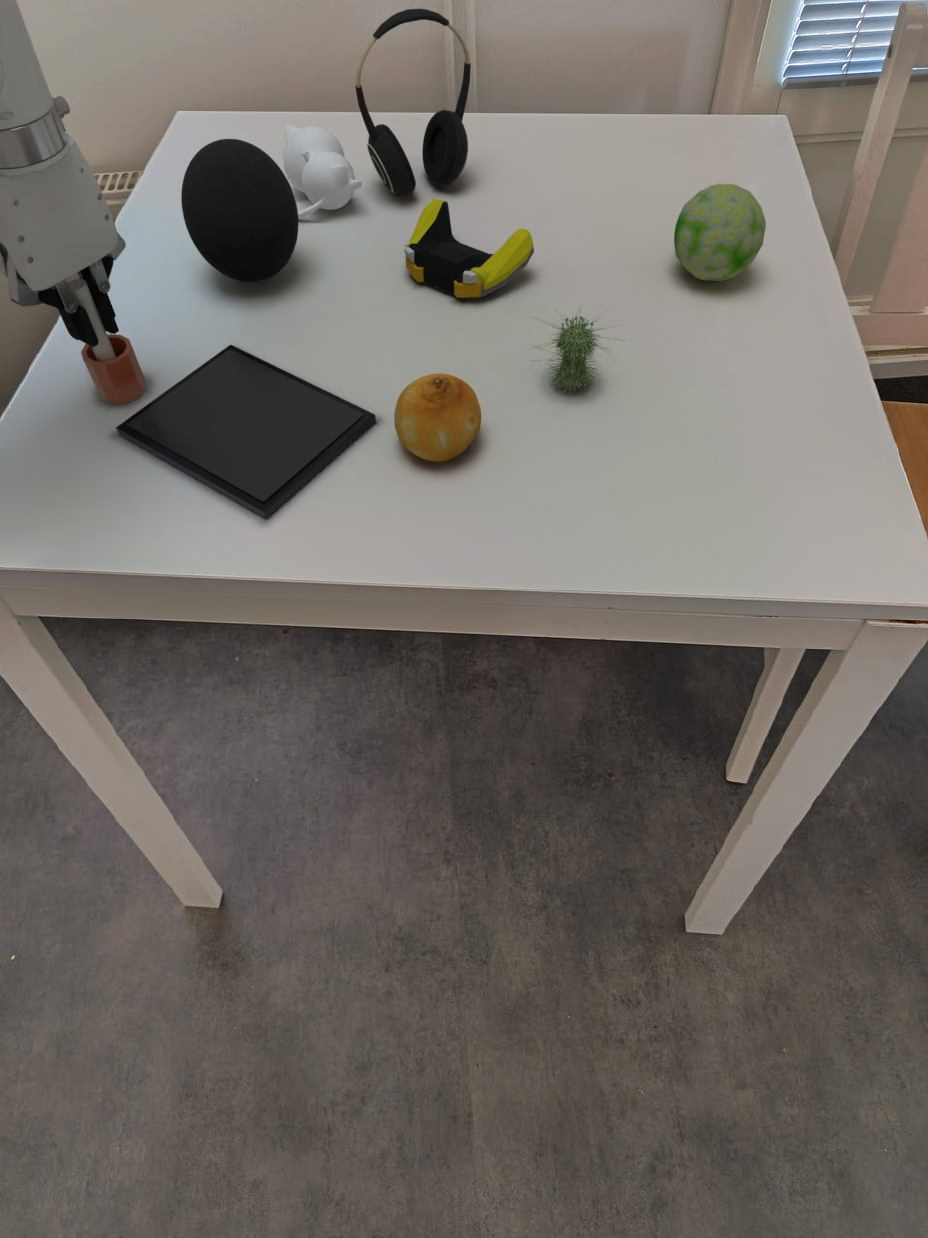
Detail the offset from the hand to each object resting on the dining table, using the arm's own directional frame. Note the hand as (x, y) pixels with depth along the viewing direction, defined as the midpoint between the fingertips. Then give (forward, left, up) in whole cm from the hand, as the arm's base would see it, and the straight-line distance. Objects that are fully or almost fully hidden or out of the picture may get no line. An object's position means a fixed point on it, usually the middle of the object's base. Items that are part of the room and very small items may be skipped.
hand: (96, 333), depth 82 cm
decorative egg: (+23, +3, -7) cm, 25 cm away
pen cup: (0, 0, -7) cm, 7 cm away
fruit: (+12, -32, -7) cm, 35 cm away
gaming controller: (+37, -17, -7) cm, 42 cm away
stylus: (0, 0, -5) cm, 5 cm away
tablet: (+3, -15, -7) cm, 17 cm away
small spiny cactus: (+27, -38, -7) cm, 47 cm away
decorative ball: (+53, -41, -7) cm, 68 cm away
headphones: (+50, -1, -7) cm, 51 cm away
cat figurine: (+40, +8, -7) cm, 42 cm away
